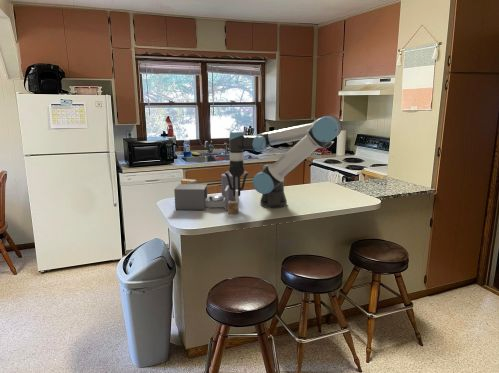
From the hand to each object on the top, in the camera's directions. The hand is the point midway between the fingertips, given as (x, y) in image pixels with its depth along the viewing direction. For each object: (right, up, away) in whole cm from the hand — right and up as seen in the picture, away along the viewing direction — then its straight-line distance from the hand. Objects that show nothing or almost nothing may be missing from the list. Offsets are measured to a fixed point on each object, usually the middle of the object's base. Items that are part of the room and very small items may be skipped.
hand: (236, 201), depth 210 cm
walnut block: (-2, -5, -8) cm, 10 cm away
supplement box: (-29, -1, +14) cm, 32 cm away
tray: (-13, -3, +1) cm, 13 cm away
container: (-5, +1, +19) cm, 20 cm away
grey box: (-25, -3, +2) cm, 26 cm away
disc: (-11, +1, 0) cm, 11 cm away
